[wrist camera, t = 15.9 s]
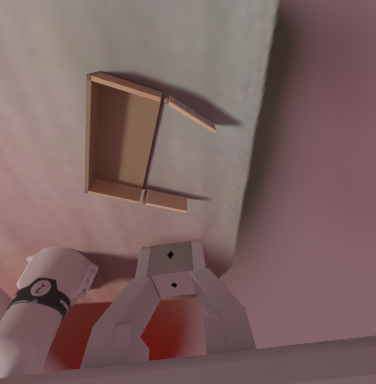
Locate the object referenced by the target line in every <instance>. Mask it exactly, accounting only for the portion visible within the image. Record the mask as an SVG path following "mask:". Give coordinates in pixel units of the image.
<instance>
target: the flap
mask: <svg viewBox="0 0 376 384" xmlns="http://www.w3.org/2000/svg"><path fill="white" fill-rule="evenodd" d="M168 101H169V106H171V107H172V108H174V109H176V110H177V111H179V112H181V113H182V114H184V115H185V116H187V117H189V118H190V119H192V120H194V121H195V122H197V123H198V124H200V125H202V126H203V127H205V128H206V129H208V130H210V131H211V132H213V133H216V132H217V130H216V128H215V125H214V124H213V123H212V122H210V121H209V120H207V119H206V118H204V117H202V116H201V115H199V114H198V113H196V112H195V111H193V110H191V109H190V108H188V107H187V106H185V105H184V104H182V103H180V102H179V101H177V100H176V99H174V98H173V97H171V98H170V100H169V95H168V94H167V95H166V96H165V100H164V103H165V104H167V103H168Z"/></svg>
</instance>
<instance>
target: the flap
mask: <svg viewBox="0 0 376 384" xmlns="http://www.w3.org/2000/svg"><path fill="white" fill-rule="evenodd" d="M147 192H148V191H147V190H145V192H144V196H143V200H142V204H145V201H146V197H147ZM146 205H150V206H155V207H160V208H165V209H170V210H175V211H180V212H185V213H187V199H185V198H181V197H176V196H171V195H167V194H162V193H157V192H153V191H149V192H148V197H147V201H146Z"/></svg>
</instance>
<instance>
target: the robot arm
mask: <svg viewBox="0 0 376 384" xmlns="http://www.w3.org/2000/svg"><path fill="white" fill-rule="evenodd" d="M26 260H27V262H28V263H29V264H28V266H27V267H26V269H25V270H24V272H23V274H22V275H21V277H20V279H19V280H18V282H17V287H18V289H19V290H18V292H17V293H16V294H15V296H14V297H13V298H12V300H11V301H10V304H9V305H8V307H7V310H8V311H7V312H6V314H5V315H4V317H3V318H2V320H1V321H0V384H376V335H375V336H366V337H357V338H349V339H340V340H331V341H322V342H314V343H304V344H296V345H287V346H279V347H270V348H261V349H256V345H255V342H254V338H253V334H252V331H251V327H250V323H249V320H248V316H247V312H246V308H245V307H244V306H243V305H242V304H241V303H240V302H239V301H238V300H237V299H236V298H235V296H234V295H233V294H232V293H231V292H230V291H229V290H228V289H227V288H226V287H225V285H224V284H222V282H221V281H220V280H219V279H218V278H217V277H216V276H215V275H214V273H213V272H212V271H211V270H210V269H207V267H206V261H205V255H204V249H203V243H202V239H199V240H192V241H185V242H178V243H172V244H167V245H158V246H150V247H142V248H141V250H140V253H139V259H138V264H137V269H136V275H135V279H131V280H130V282H129V283H128V284H127V285H126V287H125V288H124V289H123V290H122V292H121V293H120V294H119V295H118V297H117V298H116V299H115V300H114V302H113V303H112V304H111V305H110V306H109V308H108V309H107V310H106V311H105V313H104V314H103V315H102V316H101V318H100V319H99V320H98V321H97V323H96V324H95V325H94V326H93V328H92V332H91V335H90V338H89V341H88V345H87V348H86V351H85V354H84V358H83V361H82V364H81V367H80V369H76V370H67V371H58V372H50V373H41V370H42V367H43V364H44V361H45V358H46V355H47V353H48V350H49V348H50V345H51V343H52V341H53V338H54V336H55V334H56V331H57V329H58V327H59V324H60V322H61V321H62V320H63V319H64V317H65V316H66V314H67V313H68V310H69V308H70V306H72V305H74V304H75V303H76V301H77V299H78V297H81V298H84V297H85V295H86V292H88V291H89V288H90V286H91V284H92V282H93V280H94V278H95V275H96V273H97V271H98V269H99V267H98V266H97V265H95V264H94V263H92V262H90V261H89V260H88V259H87V258H86V257H85V256H84V255H82V254H81V253H79V252H77V251H75V250H72V249H69V248H65V247H48V248H44V249H42V250H40V251H39V252H38V253H36V254H34V255H30V256H28V257H27V259H26ZM188 294H196V296H197V297H198V298H199V300H200V301H201V303H202V304H203V306H204V307H205V309H206V310H207V312H208V313H209V314H206V315H205V317H204V330H205V341H206V352H207V355H200V356H191V357H182V358H173V359H164V360H155V361H148V358H149V349H148V348H147V346H146V345H145V344H144V342H143V341H142V340H141V338H140V336H141V335H142V333H143V331H144V329H145V327H146V325H147V323H148V322H149V320H150V318H151V316H152V314H153V313H154V311H155V309H156V307H157V305H158V303H159V301H160V300H161V299H160V298H166V297H172V296H178V295H188Z"/></svg>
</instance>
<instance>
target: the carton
mask: <svg viewBox="0 0 376 384" xmlns="http://www.w3.org/2000/svg"><path fill="white" fill-rule="evenodd" d="M162 93H163V92H162V91H159V90H156V89H152V88H149V87H146V86H143V85H140V84H137V83H134V82H131V81H128V80H124V79H121V78H118V77H115V76H112V75H109V74H106V73H103V72H100V71H98V72H94V73H90V74H87V85H86V147H85V193H89V194H94V195H98V196H103V197H108V198H113V199H118V200H123V201H127V202H132V203H137V204H139V200H140V196H141V193H142V189H143V184H144V179H145V174H146V170H147V165H148V160H149V155H150V151H151V146H152V141H153V136H154V131H155V127H156V122H157V117H158V112H159V108H160V103H161V98H162Z"/></svg>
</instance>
